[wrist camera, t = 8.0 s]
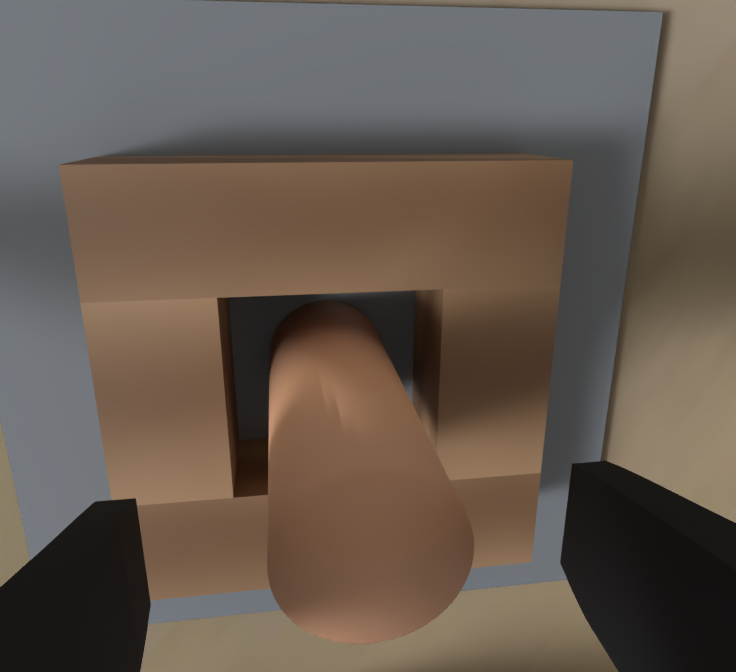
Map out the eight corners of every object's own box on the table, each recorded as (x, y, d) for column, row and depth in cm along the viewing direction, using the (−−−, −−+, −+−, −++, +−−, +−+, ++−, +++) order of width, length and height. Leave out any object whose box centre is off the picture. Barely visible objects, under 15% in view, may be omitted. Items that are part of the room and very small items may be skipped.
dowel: (383, 398, 19) (474, 626, 10) (276, 410, 18) (279, 658, 10) (377, 295, 18) (474, 456, 9) (263, 305, 17) (255, 484, 9)
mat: (577, 568, 23) (584, 577, 22) (51, 622, 20) (46, 634, 20) (652, 15, 17) (663, 12, 16) (-80, -3, 14) (-92, -7, 14)
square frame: (495, 501, 20) (531, 561, 18) (148, 531, 19) (127, 602, 16) (523, 153, 17) (573, 160, 14) (97, 156, 15) (58, 165, 13)
